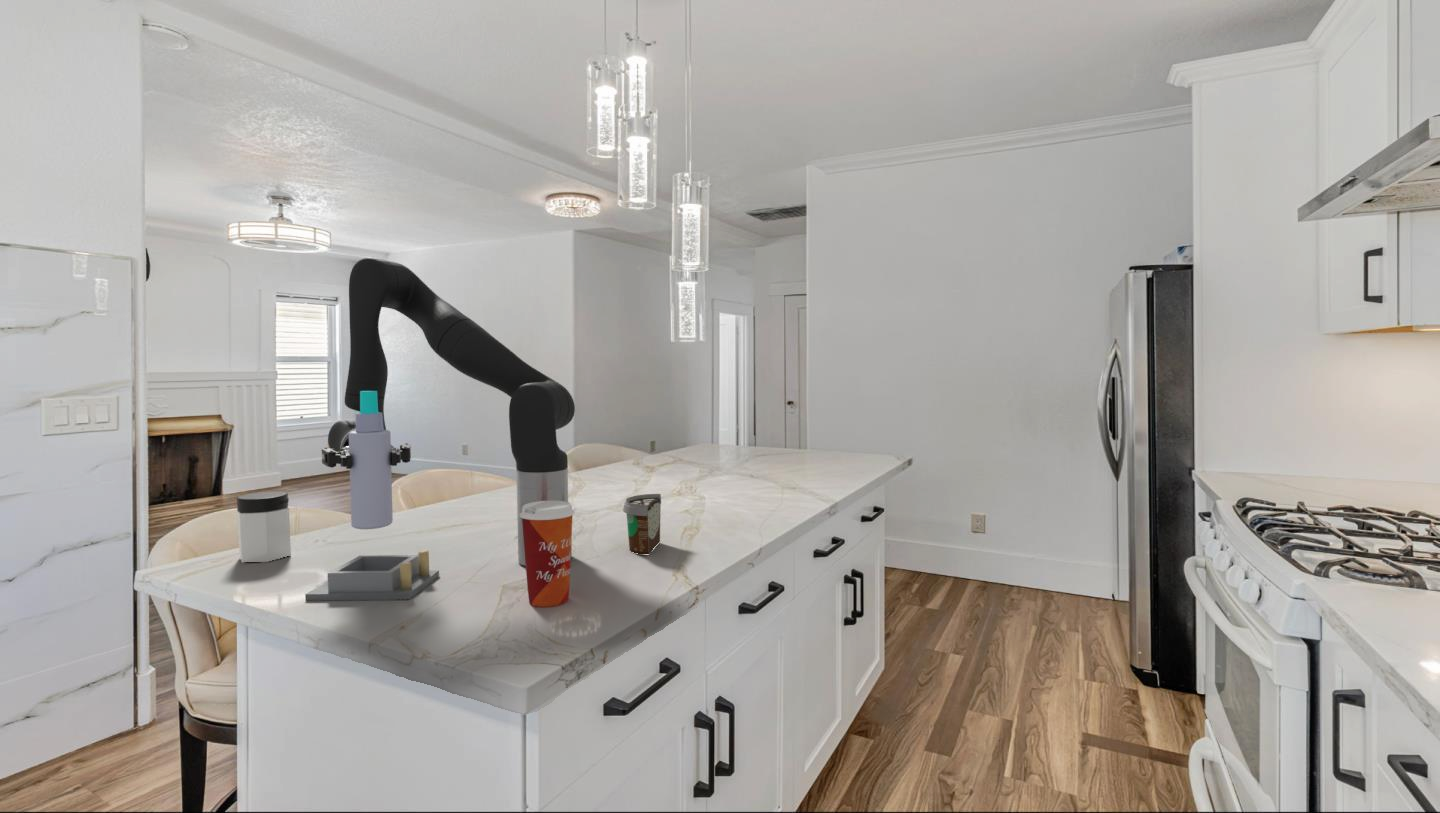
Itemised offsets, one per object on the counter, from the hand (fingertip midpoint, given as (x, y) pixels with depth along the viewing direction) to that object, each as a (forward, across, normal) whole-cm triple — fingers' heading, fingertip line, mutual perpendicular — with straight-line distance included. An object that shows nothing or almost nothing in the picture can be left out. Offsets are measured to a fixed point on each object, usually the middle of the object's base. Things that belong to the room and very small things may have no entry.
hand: (372, 460), depth 110 cm
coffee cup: (+19, +23, +21) cm, 36 cm away
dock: (-2, 0, +21) cm, 21 cm away
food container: (-1, +47, +21) cm, 52 cm away
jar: (-33, -16, +22) cm, 43 cm away
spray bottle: (-2, 0, +11) cm, 11 cm away
